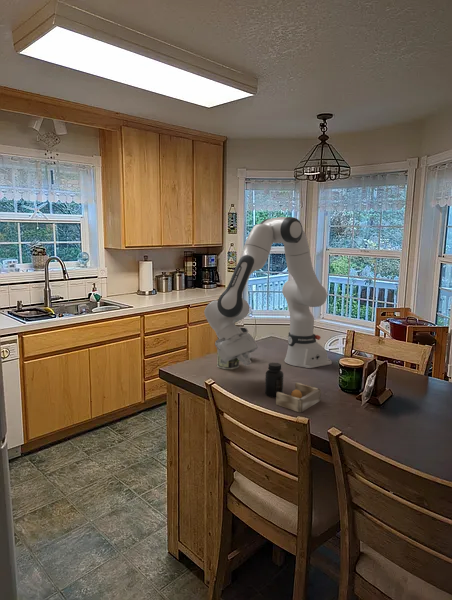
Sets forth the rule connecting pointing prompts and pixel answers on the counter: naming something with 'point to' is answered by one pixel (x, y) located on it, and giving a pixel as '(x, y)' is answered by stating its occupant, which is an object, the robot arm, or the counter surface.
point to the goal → (299, 404)
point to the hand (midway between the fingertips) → (248, 364)
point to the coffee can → (227, 363)
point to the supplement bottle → (274, 380)
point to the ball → (296, 394)
